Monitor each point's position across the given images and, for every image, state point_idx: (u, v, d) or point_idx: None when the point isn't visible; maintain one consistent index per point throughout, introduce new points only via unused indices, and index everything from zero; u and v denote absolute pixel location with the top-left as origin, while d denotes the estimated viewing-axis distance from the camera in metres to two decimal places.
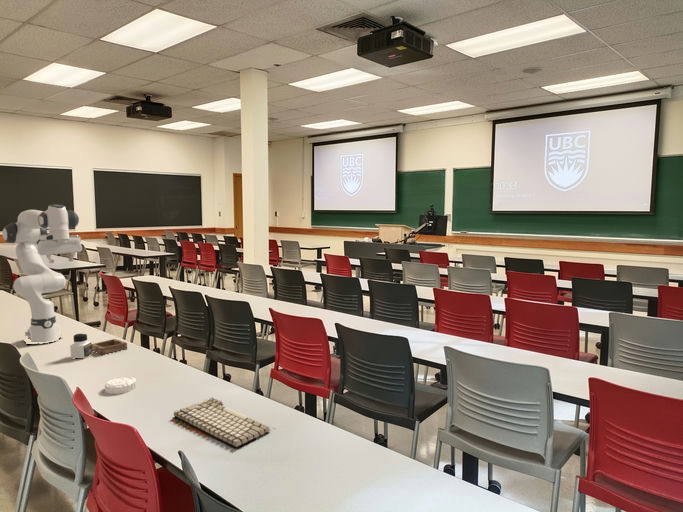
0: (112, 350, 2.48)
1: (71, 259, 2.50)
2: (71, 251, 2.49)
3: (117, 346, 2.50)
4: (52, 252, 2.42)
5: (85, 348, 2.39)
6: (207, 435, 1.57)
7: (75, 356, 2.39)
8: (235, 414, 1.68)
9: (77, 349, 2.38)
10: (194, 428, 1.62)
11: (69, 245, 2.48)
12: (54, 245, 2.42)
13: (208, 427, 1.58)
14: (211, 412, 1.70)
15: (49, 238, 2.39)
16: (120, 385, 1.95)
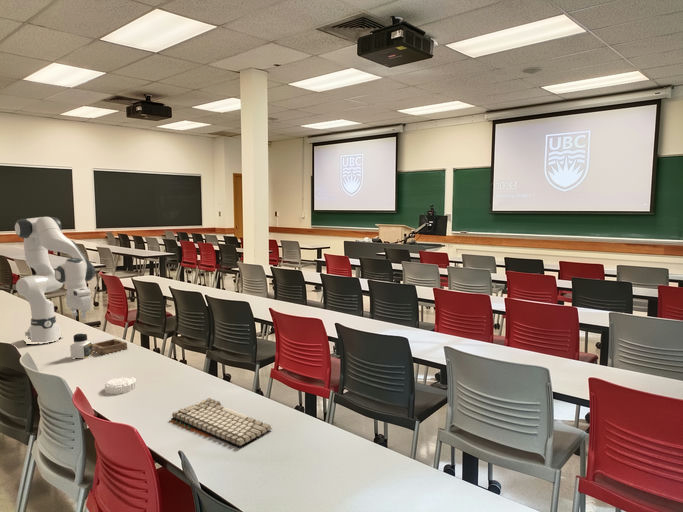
0: (112, 350, 2.48)
1: None
2: None
3: (117, 346, 2.50)
4: None
5: (85, 348, 2.39)
6: (208, 435, 1.57)
7: (75, 356, 2.39)
8: (235, 414, 1.68)
9: (77, 349, 2.38)
10: (194, 428, 1.62)
11: None
12: None
13: (209, 427, 1.58)
14: (210, 412, 1.70)
15: None
16: (120, 385, 1.95)
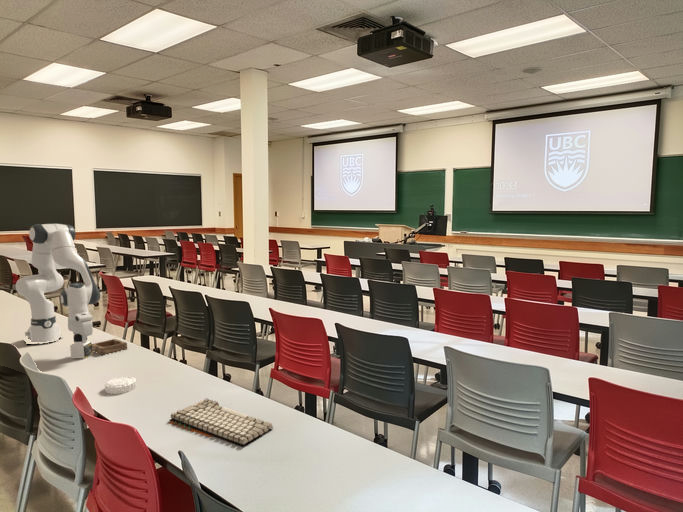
0: (112, 350, 2.48)
1: None
2: None
3: (117, 346, 2.50)
4: None
5: (85, 348, 2.39)
6: (210, 435, 1.57)
7: (75, 356, 2.39)
8: (235, 413, 1.69)
9: (77, 349, 2.38)
10: (195, 429, 1.62)
11: None
12: None
13: (211, 427, 1.58)
14: (209, 412, 1.70)
15: None
16: (120, 385, 1.95)
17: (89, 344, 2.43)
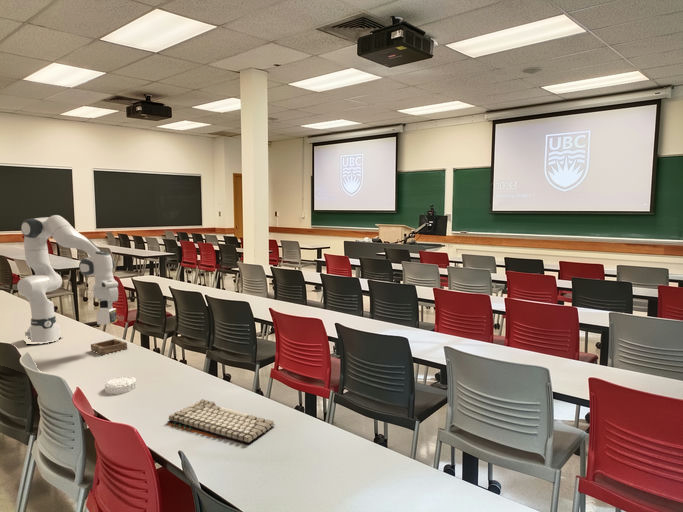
0: (112, 350, 2.48)
1: None
2: None
3: (117, 346, 2.50)
4: None
5: (111, 314, 2.48)
6: (212, 435, 1.57)
7: (101, 322, 2.48)
8: (234, 413, 1.69)
9: (103, 315, 2.47)
10: (196, 430, 1.61)
11: None
12: None
13: (213, 427, 1.58)
14: (208, 413, 1.70)
15: None
16: (120, 385, 1.95)
17: (114, 311, 2.52)
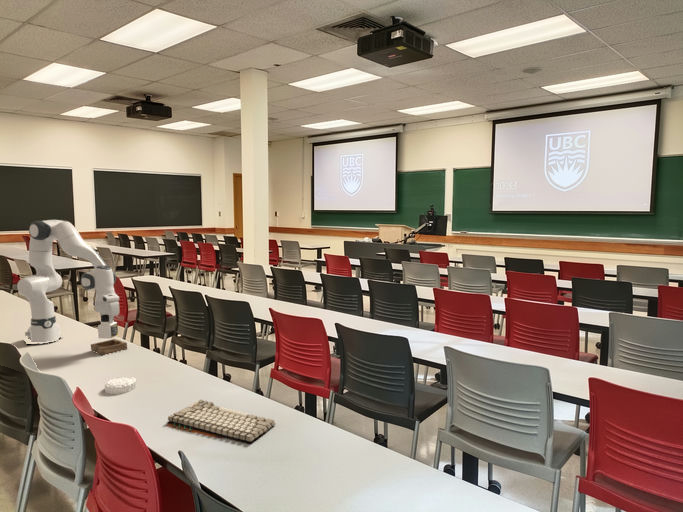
0: (112, 350, 2.48)
1: None
2: None
3: (117, 346, 2.50)
4: None
5: (112, 328, 2.49)
6: (213, 435, 1.57)
7: (102, 335, 2.49)
8: (234, 412, 1.70)
9: (104, 329, 2.48)
10: (196, 430, 1.61)
11: None
12: None
13: (214, 427, 1.58)
14: (208, 413, 1.69)
15: None
16: (120, 385, 1.95)
17: (115, 324, 2.53)
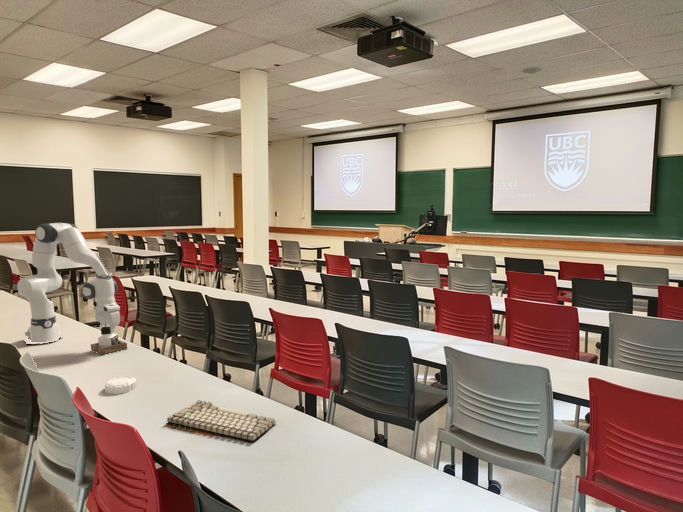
0: (112, 350, 2.48)
1: None
2: None
3: (117, 346, 2.50)
4: None
5: (112, 340, 2.50)
6: (215, 435, 1.58)
7: None
8: (234, 412, 1.70)
9: (104, 342, 2.49)
10: (196, 430, 1.61)
11: None
12: None
13: (215, 427, 1.58)
14: (207, 413, 1.69)
15: None
16: (120, 385, 1.95)
17: (116, 336, 2.54)
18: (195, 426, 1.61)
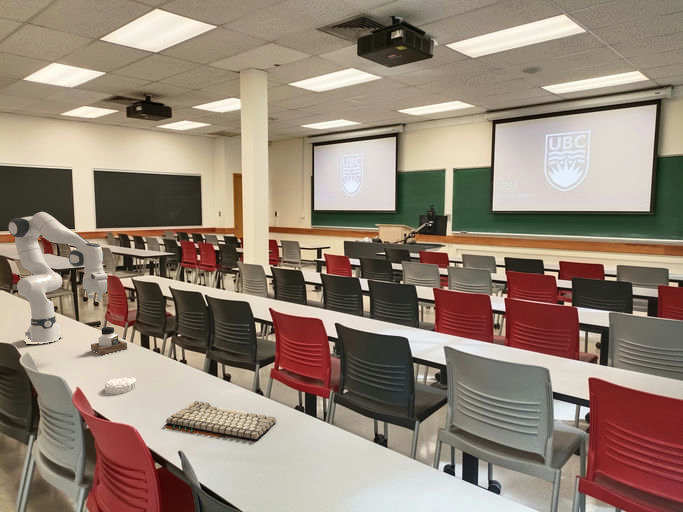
0: (112, 350, 2.48)
1: None
2: None
3: (117, 346, 2.50)
4: None
5: (112, 340, 2.50)
6: (216, 434, 1.58)
7: None
8: (233, 412, 1.70)
9: (105, 342, 2.49)
10: (197, 430, 1.60)
11: None
12: None
13: (216, 426, 1.59)
14: (207, 413, 1.69)
15: None
16: (120, 385, 1.95)
17: (116, 337, 2.54)
18: (196, 426, 1.61)
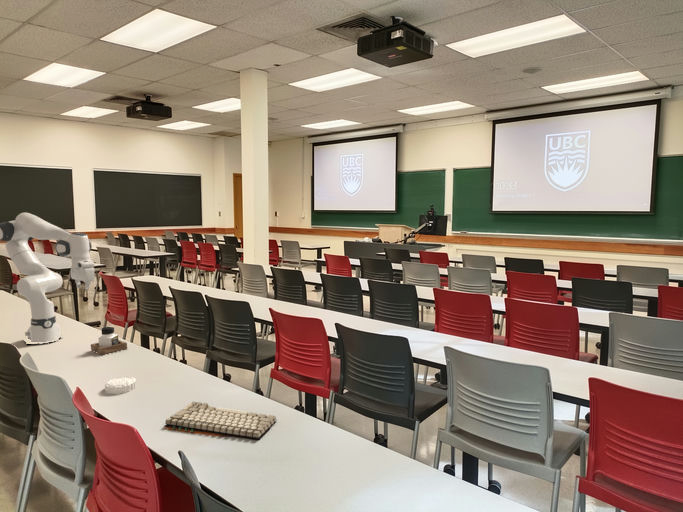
0: (112, 350, 2.48)
1: None
2: None
3: (117, 346, 2.50)
4: None
5: (112, 340, 2.50)
6: (218, 434, 1.58)
7: None
8: (233, 411, 1.70)
9: (105, 342, 2.49)
10: (198, 431, 1.60)
11: None
12: None
13: (217, 426, 1.59)
14: (206, 414, 1.69)
15: None
16: (120, 385, 1.95)
17: (116, 337, 2.54)
18: (196, 427, 1.60)
